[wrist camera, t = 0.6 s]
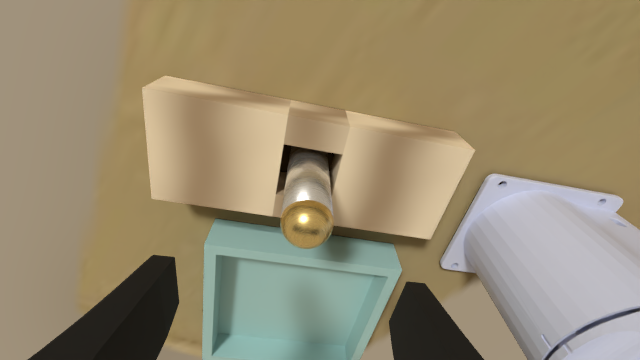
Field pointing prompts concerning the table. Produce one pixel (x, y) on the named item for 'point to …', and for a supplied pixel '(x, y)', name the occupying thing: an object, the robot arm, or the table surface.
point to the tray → (291, 294)
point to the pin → (307, 199)
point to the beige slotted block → (301, 131)
